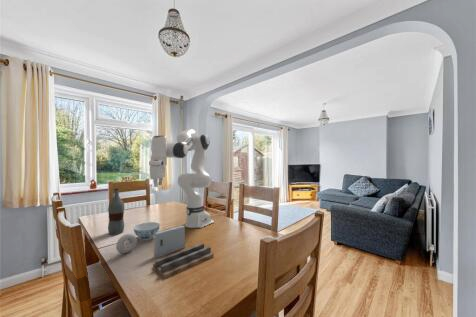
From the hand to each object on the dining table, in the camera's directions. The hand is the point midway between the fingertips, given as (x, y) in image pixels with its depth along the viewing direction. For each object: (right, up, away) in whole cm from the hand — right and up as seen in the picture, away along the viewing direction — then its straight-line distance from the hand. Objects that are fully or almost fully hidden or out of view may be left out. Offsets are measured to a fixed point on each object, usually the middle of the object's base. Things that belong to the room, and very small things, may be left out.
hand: (158, 185), depth 115 cm
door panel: (+10, -34, -9) cm, 37 cm away
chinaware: (-10, -34, +8) cm, 37 cm away
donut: (-12, -34, -11) cm, 38 cm away
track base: (+21, -34, -20) cm, 45 cm away
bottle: (-35, -34, +17) cm, 52 cm away
